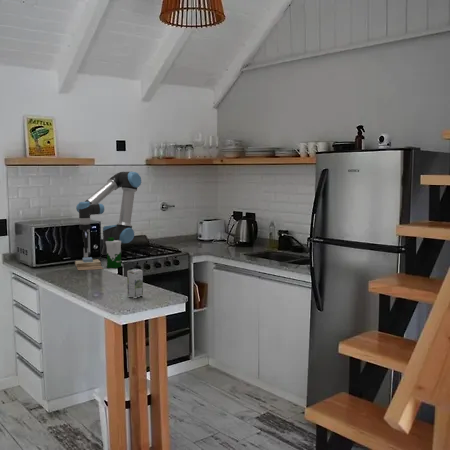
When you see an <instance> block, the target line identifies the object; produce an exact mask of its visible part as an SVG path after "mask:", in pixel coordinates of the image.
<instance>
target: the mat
mask: <svg viewBox="0 0 450 450" xmlns="http://www.w3.org/2000/svg"><path fill="white" fill-rule="evenodd" d="M76 269H77V271H78V272H80V271H92V270H93V271H94V270H95V271H96V270H103V269H104V268H103V266H102V265H101V266H91V267H76Z"/></svg>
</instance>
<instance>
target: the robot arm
mask: <svg viewBox="0 0 450 450" xmlns="http://www.w3.org/2000/svg"><path fill="white" fill-rule="evenodd" d="M141 185H142V177H141V175H140V174H139V172H136V171H120V172H117V173H115V174H114V175H113V176H111V177H110V178H108V179H107V181H106V183H105V184H104V185H102V186H101V187H100V188H99V189H98V190H97V191H95V192H94V193H93V194H92V195H91V196H90V197H88V198H87V199H86V200H84V201H79V202H78V203H77V205H76V209H75V210H76V211H77V213H78V221H79V230H80V231H82V232H81V234H82V235H81V236H82V243H83V242H84V247H82V248H83V258H84V257H89V232H88V230H91V216H92V215H102V214H103V213H104V212H105V205H104V204H103V203H101V202H102V201H103V200H104V199H105V198H106V197H108V195H110V194H111V193H112V192H114V191H117V190H118V189H120V188H121V190H122V197H121V206H120V212H119V219H118V222H117V223H116V224H111V225H104V226H103V227H102V242H103V243H102V244H103V247H102V249H101V253H100V254H102V255H107V247H106V241H108V238H114V240H119V241H121V244H129V243H131V242H132V241H133V240H134V237H135V231H134V228H133V225H132V224H131V222H132V215H133V207H134V202H135V201H134V199H135V193H136V192H137V191H138V188H140V186H141ZM102 255H101V256H102Z"/></svg>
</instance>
